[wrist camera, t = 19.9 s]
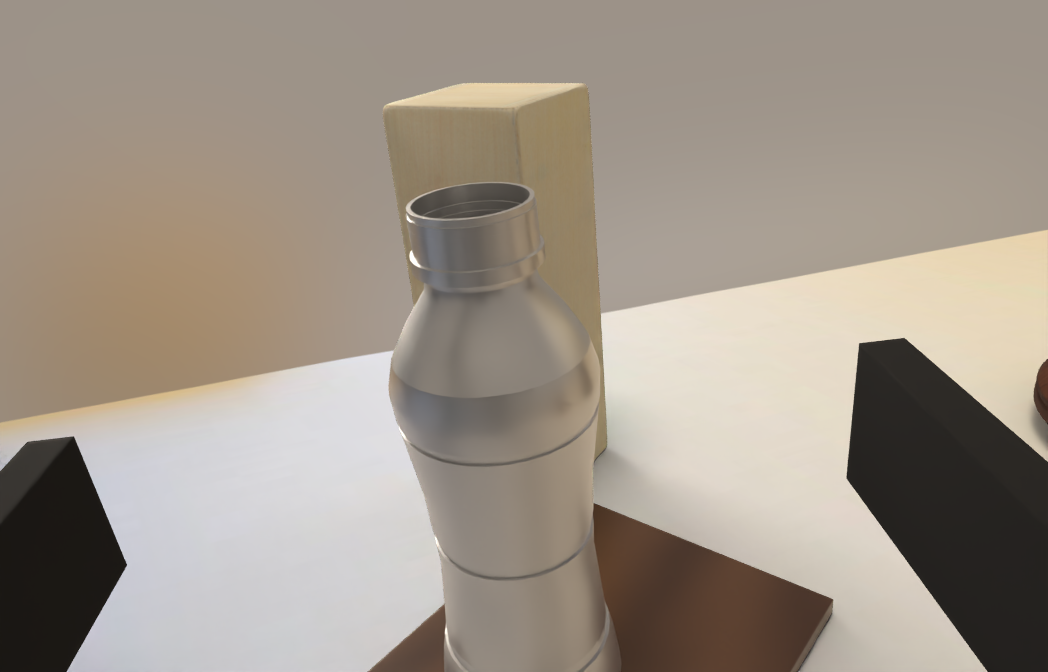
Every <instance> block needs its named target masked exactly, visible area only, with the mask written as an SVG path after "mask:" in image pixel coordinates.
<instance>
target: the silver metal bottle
mask: <svg viewBox="0 0 1048 672" xmlns="http://www.w3.org/2000/svg"><path fill="white" fill-rule="evenodd" d="M406 212H407V213H406V220H407V226H408V231H409V237H410V243H411V249H412V251H411V252H410V255H409V258H410V264H411V269H412V274H413V276H414V277H415V278H416V279H417V280H419V281H421V282H423V283H424V290H423V292H422V294H421V296H420V297H419V299H418V301H417V303H416V305H415V306H414V308H413V310H412V312H411V314H410V315H409V317H408V319H407V321H406V323H405V326H404V328H403V330H402V333H401V335H400V338H399V340H398V342H397V345H396V347H395V350H394V353H393V356H392V359H391V368H390V377H389V397H390V400H391V404H392V407H393V411H394V414H395V418H396V422H397V423H398V425H399V427H400V432H401V434H402V437H403V440H404V442H405V445H406V448H407V451H408V453H409V456H410V459H411V461H412V464H413V467H414V469H415V472H416V475H417V477H418V480H419V483H420V485H421V488H422V491H423V494H424V497H425V501H426V505H427V509H428V513H429V517H430V521H431V525H432V529H433V532H434V534H435V538H436V544H437V548H438V552H439V556H440V560H441V568H442V580H443V591H444V603H445V614H446V627H445V638H444V672H621V656H620V650H619V645H618V641H617V637H616V632H615V628H614V624H613V621H612V618H611V615H610V613H609V610H608V607H607V605H606V602H605V600H604V594H603V589H602V583H601V578H600V572H599V566H598V561H597V555H596V550H595V544H594V520H593V509H594V508H593V465H594V454H595V443H596V432H597V421H598V410H599V398H600V364H599V359H598V356H597V354H596V351H595V349H594V346H593V344H592V341H591V338H590V336H589V333H588V332H587V330H586V329H585V327H584V326H583V324H582V323H581V322H580V321H579V319H578V318H577V317H576V315H575V314H574V313H573V312H572V310H571V309H570V308H569V306H568V305H567V304H566V303H565V301H564V300H563V299H562V298H561V297H560V296H559V295H558V294H557V293H556V292H555V291H554V290H553V289H552V288H551V287H550V286H549V285H548V284H547V283H546V282H545V281H544V280H543V279H542V278H541V276H540V275H539V273H538V270H537V268H539V267H540V266H541V265H542V264H543V263H544V260H545V258H546V255H545V245H544V238H543V237H542V236H541V235H540V231H539V221H538V211H537V201H536V198H535V195H534V191H533V190H532V189H531V188H529V187H527V186H525V185H521V184H516V183H509V182H477V183H467V184H461V185H454V186H450V187H445V188H441V189H437V190H434V191H431V192H428V193H425V194H422V195H420V196H418V197H416V198H414V199H413V200H411V201H410V202H409V203H408V204H407V206H406Z"/></svg>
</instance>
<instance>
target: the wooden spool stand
mask: <svg viewBox="0 0 1048 672" xmlns="http://www.w3.org/2000/svg"><path fill="white" fill-rule="evenodd" d="M1034 402H1035V405H1036V407H1037V410H1038V412H1039V413H1040V415H1041V416H1042V418H1043V419H1044V420H1045V421H1046V423H1047V424H1048V359H1047V360H1046V361H1045V362H1044V363H1043V364H1042V366H1041V367H1040V369H1039V371H1038V374H1037V380H1036V384H1035V388H1034Z"/></svg>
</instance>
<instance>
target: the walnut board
mask: <svg viewBox="0 0 1048 672" xmlns="http://www.w3.org/2000/svg"><path fill="white" fill-rule="evenodd" d="M593 508H594V509H593V520H594V544H595V550H596V555H597V561H598V566H599V572H600V578H601V583H602V589H603V594H604V600H605V602H606V605H607V607H608V610H609V613H610V615H611V618H612V621H613V624H614V628H615V632H616V637H617V641H618V645H619V650H620V656H621V672H797V671H798V670H799V668H800V666H801V664H802V663H803V661H804V659H805V658H806V656H807V654H808V653H809V651H810V649H811V647H812V646H813V644H814V642H815V641H816V639H817V637H818V636H819V634H820V632H821V631H822V629H823V627H824V625H825V624H826V622H827V620H828V619H829V617H830V615H831V614H832V608H833V599H831V598H829V597H826V596H824V595H821V594H819V593H816V592H814V591H811V590H809V589H806V588H804V587H801V586H799V585H796V584H794V583H791V582H789V581H786V580H784V579H781V578H779V577H776V576H774V575H771V574H769V573H766V572H764V571H761V570H759V569H756V568H754V567H751V566H749V565H747V564H744V563H742V562H739V561H737V560H734V559H732V558H729V557H727V556H724V555H722V554H719V553H717V552H714V551H712V550H709V549H707V548H704V547H702V546H699V545H697V544H694V543H692V542H689V541H687V540H684V539H682V538H679V537H677V536H674V535H672V534H669V533H667V532H664V531H662V530H659V529H657V528H654V527H652V526H649V525H647V524H644V523H642V522H639V521H637V520H634V519H632V518H629V517H627V516H625V515H622V514H620V513H617V512H615V511H612V510H610V509H607V508H605V507H602V506H600V505H597V504H595V503H593ZM445 627H446V614H445V604H444V605H442V606H441V607H440V608H439V609H438V610H437V611H436V612H435V613H433V614H432V615H431V616H430V617H429V618H428V619H427V620H425V621H424V622H423V623H422V624H421V625H420V626H419V627H418V628H416V629H415V630H414V631H413V632H412V633H411V634H410V635H409V636H407V637H406V638H405V639H404V640H403V641H402V642H401V643H399V644H398V645H397V646H396V647H395V648H394V649H393V650H392V651H390V652H389V653H388V654H387V655H386V656H385V657H384V658H383V659H381V660H380V661H379V662H378V663H377V664H376V665H375V666H374V667H372V668H371V669H370V670H369V671H368V672H444V638H445Z"/></svg>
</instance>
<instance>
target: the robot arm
mask: <svg viewBox="0 0 1048 672" xmlns="http://www.w3.org/2000/svg"><path fill="white" fill-rule="evenodd" d="M847 480H848V481H849V482H850V484H851V485H852V487H853V488H854V489H855V491H856V492H857V493H858V495H859V496H860V497H861V499H862V500H863V502H864V503H865V504H866V506H867V507H868V508H869V510H870V511H871V513H872V514H873V515H874V517H875V518H876V519H877V521H878V522H879V524H880V525H881V526H882V528H883V529H884V530H885V532H886V533H887V534H888V536H889V537H890V539H891V540H892V541H893V543H894V544H895V545H896V547H897V548H898V550H899V551H900V552H901V554H902V555H903V556H904V558H905V559H906V560H907V562H908V563H909V565H910V566H911V567H912V569H913V570H914V571H915V573H916V574H917V576H918V577H919V578H920V580H921V581H922V582H923V584H924V585H925V587H926V588H927V589H928V591H929V592H930V593H931V595H932V596H933V597H934V599H935V600H936V602H937V603H938V604H939V606H940V607H941V608H942V610H943V611H944V613H945V614H946V615H947V617H948V618H949V619H950V621H951V622H952V623H953V625H954V626H955V628H956V629H957V630H958V632H959V633H960V634H961V636H962V637H963V639H964V640H965V641H966V643H967V644H968V645H969V647H970V648H971V650H972V651H973V652H974V654H975V655H976V656H977V658H978V659H979V660H980V662H981V663H982V665H983V666H984V667H985V669H986V670H987V671H988V672H1048V462H1047V461H1046V460H1045V459H1044V458H1043V457H1041V456H1040V455H1039V454H1038V453H1037V452H1036V451H1035V450H1033V449H1032V448H1031V447H1030V446H1029V445H1028V444H1026V443H1025V442H1024V441H1023V440H1022V439H1021V438H1019V437H1018V436H1017V435H1016V434H1015V433H1014V432H1013V431H1011V430H1010V429H1009V428H1008V427H1007V426H1006V425H1004V424H1003V423H1002V422H1001V421H1000V420H999V419H997V418H996V417H995V416H994V415H993V414H992V413H991V412H989V411H988V410H987V409H986V408H985V407H984V406H982V405H981V404H980V403H979V402H978V401H977V400H976V399H974V398H973V397H972V396H971V395H970V394H969V393H967V392H966V391H965V390H964V389H963V388H962V387H960V386H959V385H958V384H957V383H956V382H955V381H954V380H952V379H951V378H950V377H949V376H948V375H947V374H945V373H944V372H943V371H942V370H941V369H940V368H939V367H937V366H936V365H935V364H934V363H933V362H932V361H930V360H929V359H928V358H927V357H926V356H925V355H923V354H922V353H921V352H920V351H919V350H918V349H917V348H915V347H914V346H913V345H912V344H911V343H910V342H908V341H907V340H906V339H905V338H901V339H892V340H884V341H876V342H867V343H859V352H858V362H857V373H856V383H855V394H854V404H853V415H852V425H851V436H850V446H849V457H848V467H847ZM126 566H127V564H126V561H125V559H124V557H123V554H122V552H121V549H120V547H119V545H118V542H117V540H116V537H115V535H114V532H113V530H112V528H111V525H110V523H109V520H108V518H107V515H106V513H105V511H104V508H103V506H102V503H101V501H100V499H99V496H98V494H97V491H96V489H95V486H94V484H93V482H92V479H91V477H90V474H89V472H88V469H87V467H86V465H85V462H84V460H83V457H82V455H81V453H80V450H79V448H78V445H77V443H76V440H75V438H74V437H65V438H57V439H48V440H40V441H31V442H27V443H26V444H25V445H24V446H23V447H22V448H21V449H20V451H19V452H18V453H17V454H16V455H15V456H14V457H13V458H12V459H11V460H10V461H9V462H8V464H7V465H6V466H5V467H4V468H3V469H2V470H1V471H0V672H67V670H68V668H69V666H70V665H71V663H72V661H73V659H74V658H75V656H76V654H77V652H78V650H79V649H80V647H81V645H82V643H83V642H84V640H85V638H86V636H87V635H88V633H89V631H90V629H91V628H92V626H93V624H94V622H95V621H96V619H97V617H98V615H99V614H100V612H101V610H102V608H103V606H104V605H105V603H106V601H107V599H108V598H109V596H110V594H111V592H112V591H113V589H114V587H115V585H116V584H117V582H118V580H119V578H120V577H121V575H122V573H123V571H124V570H125V568H126Z"/></svg>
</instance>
